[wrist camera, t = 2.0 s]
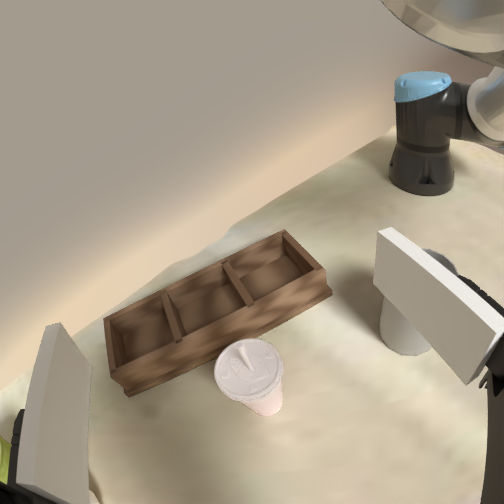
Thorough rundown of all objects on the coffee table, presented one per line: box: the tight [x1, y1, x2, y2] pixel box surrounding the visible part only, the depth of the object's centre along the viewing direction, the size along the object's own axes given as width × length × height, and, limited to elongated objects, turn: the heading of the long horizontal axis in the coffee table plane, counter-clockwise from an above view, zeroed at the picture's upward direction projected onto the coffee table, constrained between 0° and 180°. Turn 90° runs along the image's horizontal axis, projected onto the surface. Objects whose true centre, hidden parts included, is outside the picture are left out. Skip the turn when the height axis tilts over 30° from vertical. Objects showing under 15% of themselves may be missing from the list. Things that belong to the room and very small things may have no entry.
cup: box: [379, 249, 459, 356], centre depth 31 cm, size 8×8×10 cm
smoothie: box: [214, 338, 283, 416], centre depth 28 cm, size 6×6×14 cm
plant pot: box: [0, 436, 12, 484], centre depth 24 cm, size 9×9×9 cm
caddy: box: [103, 229, 332, 397], centre depth 42 cm, size 32×12×5 cm, turn 115°
